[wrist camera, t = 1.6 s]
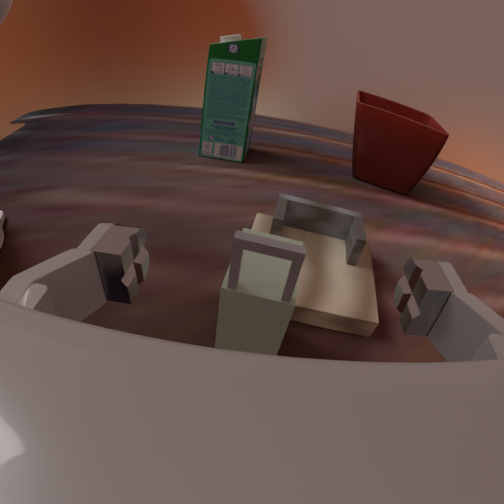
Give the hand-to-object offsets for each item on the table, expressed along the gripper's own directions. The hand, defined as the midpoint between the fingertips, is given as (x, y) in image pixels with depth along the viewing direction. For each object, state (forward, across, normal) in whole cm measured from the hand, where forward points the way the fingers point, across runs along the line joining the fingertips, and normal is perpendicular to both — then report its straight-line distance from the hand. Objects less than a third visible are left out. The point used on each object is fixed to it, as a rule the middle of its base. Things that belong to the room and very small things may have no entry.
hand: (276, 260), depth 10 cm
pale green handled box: (+12, +1, +19) cm, 23 cm away
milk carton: (+57, +11, +15) cm, 60 cm away
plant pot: (+61, -24, +17) cm, 68 cm away
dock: (+24, -5, +19) cm, 31 cm away
